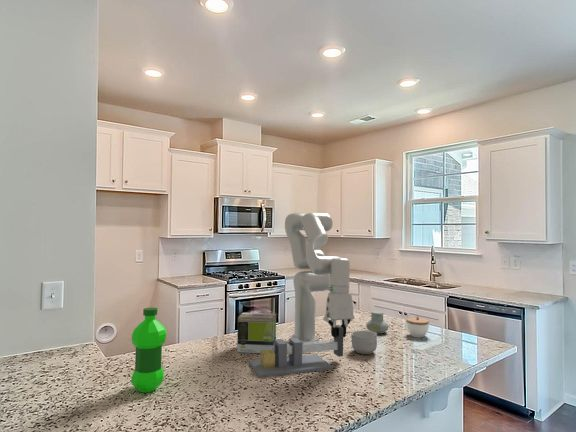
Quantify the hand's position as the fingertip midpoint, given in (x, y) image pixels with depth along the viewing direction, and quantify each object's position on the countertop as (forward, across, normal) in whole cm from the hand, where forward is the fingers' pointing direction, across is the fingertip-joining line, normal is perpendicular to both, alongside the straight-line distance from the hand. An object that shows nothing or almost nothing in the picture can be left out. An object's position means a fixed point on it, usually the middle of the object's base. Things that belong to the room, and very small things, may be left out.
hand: (338, 336), depth 149 cm
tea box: (+10, -27, +22) cm, 36 cm away
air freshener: (+10, +39, +33) cm, 52 cm away
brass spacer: (+6, -27, 0) cm, 28 cm away
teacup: (+10, +17, +8) cm, 21 cm away
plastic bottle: (+10, -70, -6) cm, 71 cm away
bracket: (+10, -20, 0) cm, 22 cm away
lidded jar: (+10, +55, +22) cm, 60 cm away
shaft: (+7, -11, 0) cm, 13 cm away
